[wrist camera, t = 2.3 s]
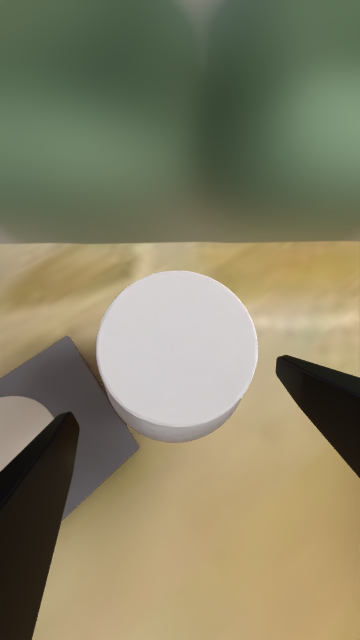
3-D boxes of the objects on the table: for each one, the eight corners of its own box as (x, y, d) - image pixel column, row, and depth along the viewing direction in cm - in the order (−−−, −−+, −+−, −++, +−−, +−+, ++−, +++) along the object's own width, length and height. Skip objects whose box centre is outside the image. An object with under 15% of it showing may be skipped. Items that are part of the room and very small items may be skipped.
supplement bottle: (123, 382, 17) (1, 346, 5) (170, 330, 19) (165, 218, 7) (179, 437, 15) (199, 574, 3) (223, 373, 17) (332, 322, 6)
